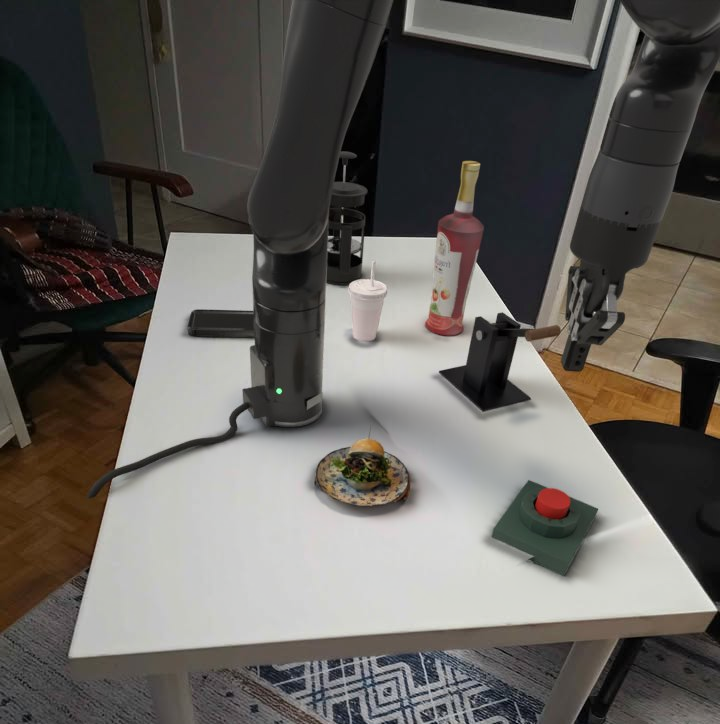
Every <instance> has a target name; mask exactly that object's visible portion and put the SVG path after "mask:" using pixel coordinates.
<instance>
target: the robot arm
mask: <svg viewBox="0 0 720 724" xmlns="http://www.w3.org/2000/svg"><path fill="white" fill-rule="evenodd" d="M619 2H620V4H621V5H622V6H623V8H624V10H625V12H626V13H627V14H628V15H629V17H630V19H631V20H632V21H633V22H634V24H635V26H637V27H638V28H639V30H640V31H641V32H642V33H643V34H644V37H643V40H642V42H641V46H640V49H639V51H638V55H637V57H636V61H635V64H634V67H633V69H632V71H631V73H630V74H629V76H628V77H627V79H626V80H624V82H623V83H622V84H621V86H620V87H619V89H618V91H617V93H616V95H615V97H614V100H613V102H612V105H611V109H610V111H609V114H608V118H607V121H606V126H605V129H604V132H603V135H602V139H601V143H600V146H599V150H598V153H597V156H596V159H595V161H594V163H593V166H592V168H591V171H590V173H589V176H588V179H587V182H586V185H585V186H586V187H585V190H584V193H583V197H582V200H581V204H580V207H579V211H578V215H577V217H576V221H575V225H574V229H573V232H572V236H571V239H570V244H569V251H570V252H571V253H572V255H573V256H574V257H575V258H577V259H578V260H580V263H579V266H577V265H570V266H569V268H568V271H567V272H568V273H567V275H568V276H567V288H566V302H565V314H564V319H565V321H567V322H568V325H567V328H566V329H567V331H566V332H567V334H568V336H567V338H566V342H565V345H564V349H563V351H562V355H561V359H560V364H561V366H562V368H563V370H564V371H565V372H575V373H580V372H582V371H583V370H584V367H585V364H586V362H587V359H588V356H589V353H590V349H591V347H592V345H595V346H603V344H604V343H606V342H607V340H609V339H610V337H611V336H613V335H614V333H616V332H617V331H618V330H619V328H621V327H622V326H623V324H624V323H625V320H626V313H625V311H618V308H617V301H619V300H620V299H621V297H622V294H623V292H624V289H625V280H626V275H627V274H628V273H629V272H630V271H632V270H634V269H639V268H641V267H642V266H644V265H645V264H646V263H647V262H648V259H649V258H650V254H651V251H652V249H653V246H654V243H655V240H656V237H657V235H658V232H659V230H660V226H661V224H662V221H663V218H664V215H665V213H666V209H667V207H668V205H669V202H670V199H671V197H672V192H673V191H674V187H675V182H676V177H677V173H678V169H679V166H680V162H681V160H682V157H683V154H684V152H685V149H686V146H687V143H688V141H689V138H690V135H691V132H692V130H693V126H694V123H695V120H696V117H697V113H698V109H699V107H700V104H701V100H702V98H703V95H704V93H705V90H706V89H707V86H708V85H709V83H710V80H711V78H712V76H713V75H714V73H715V70H716V68H717V66H718V64H719V62H720V0H619ZM393 3H394V0H292V1H291V7H290V12H289V19H288V24H287V31H286V38H285V43H284V44H285V46H284V50H283V51H284V52H283V58H282V66H281V67H282V68H281V74H280V75H281V76H280V83H279V84H280V86H279V93H278V98H277V99H278V100H277V106H276V112H275V116H274V119H273V124H272V128H271V131H270V134H269V137H268V141H267V143H266V144H267V145H266V146H265V149H264V153H263V157H262V159H261V161H260V165H259V168H258V170H257V171H256V173H255V175H254V178H253V180H252V183H251V185H250V188H249V192H248V195H247V198H246V199H247V200H246V216H247V219H248V223H249V227H250V229H251V231H252V235H253V236H252V237H253V258H252V275H251V283H252V284H251V285H252V286H251V287H252V311H253V312H254V337H253V338H254V345H250V346H249V360H250V363H249V364H250V384H251V386H250V387H247V388H246V387H245V388H242V404H240V405H239V406H237V407H236V408H235V409H233V411H232V412H231V413H230V415H229V417H228V423H229V427H230V428H229V429H227V431H226V432H225V433H223V434H221V435H217V436H209V437H201V438H200V437H199V438H195V439H191V440H190V439H189V440H188V441H185V442H182V443H178V444H176V445H173V446H171V447H169V448H166V449H163V450H161V451H158V452H155V453H154V454H152V455H149V456H146V457H144V458H142V459H140V460H137V461H135V462H132V463H129V464H126V465H122V466H120V467H117V468H114V469H112V470H110V471H108V472H107V473H105V474H103V475H102V476H100V478H99V479H97V480H96V481H95V483H94V484H93V485H92V486H91V488H90V489H89V491H88V493H87V495H86V498H87V499H93V498H95V497H97V496H98V494H99V492H100V491H101V490H102V489H103V488H104V486H106V484H107V483H109V482H111V481H112V480H113V479H115V478H118V477H119V476H123V475H125V474H128V473H131V472H135V471H137V470H140V469H142V468H145V467H147V466H149V465H151V464H154V463H156V462H158V461H160V460H163V459H165V458H167V457H169V456H172V455H175V454H178V453H180V452H183V451H185V450H188V449H191V448H195V447H199V446H206V445H214V444H217V443H221V442H224V441H227V440H230V439H231V438H232V437H233V436H234V435H235V434H236V433H237V431H238V423H237V419H238V417H239V416H240V415H241V414H243V413H244V412H246V411H248V412H249V414H250V416H251V417H252V418H253V420H257V419H261V421H262V422H263V424H265V426H266V427H274V426H276V427H281V428H298V427H303V426H307V425H309V424H312V423H313V422H315V421H316V420H318V419H319V418H320V416H321V415H322V413H323V399H324V398H323V395H324V392H323V378H324V377H323V375H324V373H323V372H324V351H325V348H324V347H325V322H326V321H325V320H326V302H327V301H326V298H327V297H326V296H327V283H326V282H327V249H328V238H329V228H328V226H329V221H330V216H329V209H330V208H331V205H330V201H331V195H332V190H333V184H334V182H335V179H336V173H337V171H338V165H339V160H340V158H339V156H340V152H342V147H343V144H344V140H345V136H346V134H347V131H348V129H349V126H350V123H351V120H352V118H353V116H354V113H355V110H356V108H357V106H358V104H359V100H360V98H361V96H362V94H363V91H364V89H365V86H366V83H367V80H368V78H369V75H370V72H371V70H372V68H373V64H374V62H375V59H376V56H377V53H378V49H379V46H380V44H381V42H382V38H383V36H384V33H385V29H386V26H387V23H388V21H389V17H390V13H391V10H392V6H393Z"/></svg>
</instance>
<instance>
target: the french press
mask: <svg viewBox="0 0 720 724" xmlns="http://www.w3.org/2000/svg"><path fill="white" fill-rule="evenodd" d="M357 157H358V155H357V154H356V153H354V152H351V151H342V150H341V152H340V156H339V159H342V166H343V174H342V178H343V179H342V181H334V184H333V190H332V195H331V201H330V206H333V207H329V217H330V216H333V221H331V220H329V226H328V229H331V230H333V233H332V234H333V236H329V237H328V249H327V282H326V284H328V285H335V286H349V284H350V283H351V282H353V281H355V280H360V279H363V273H362V272H363V257H364V244H365V231H366V215H365V214H364V213H363V212H361V211H359V210H356V209H353V208H356V207H357V208H358V207H360V206H362V205H364V204H365V200H366V199H365V197H366V195H368V189H367V188H366V187H365V186H364V185H361V184H358V183H354V182H347V181H346V172H347V171H346V170H347V169H346V168H347V166H348V163H349V162H348V161H349V160H352V159H356V158H357ZM350 208H351V209H350ZM344 216H347V217H352V218H354V219H358V220H360V221H355V222H344ZM360 229H361V237H360V241H358V240H356V239H354V238H353V231H356V230H360ZM357 253H359V256H358V255H357Z"/></svg>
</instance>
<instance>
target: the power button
mask: <svg viewBox="0 0 720 724" xmlns="http://www.w3.org/2000/svg"><path fill="white" fill-rule="evenodd" d="M569 497H570V495H568V494H567V493H566V492H564V491H563V490H561V489H558V488H553V487H547V488H546V489H543V490H541V491H540V492H539V495H538V498H537V501H536V504H535V508H536V511H537V512H538V513H539V514H540V515H542V516H544V517H547V518H549V519H557V520H560V519H562V518H564V517H565V516H566V514H567V511H568V508H569V506H570V498H569Z"/></svg>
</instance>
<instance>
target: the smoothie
mask: <svg viewBox="0 0 720 724" xmlns="http://www.w3.org/2000/svg"><path fill="white" fill-rule="evenodd" d="M376 263H377V262H376V260H374V259H373V260H372V261H371V270H370V278H362V279H360V280H355V281H353V282H351V283H350V284H349V285H348V290H347V292H348V294H349V296H350V307H351V308H350V309H351V326H352V337H353V338H354V339H355V340H357V341H360V342H371V341H374V340H375V339H376V337H377V333H378V329H379V325H380V321H381V316H382V312H383V308H384V303H385V298H386V297H387V296H388V286H387V285H386V284H385V283H383V282H381V281H379V280H375V275H376Z"/></svg>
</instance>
